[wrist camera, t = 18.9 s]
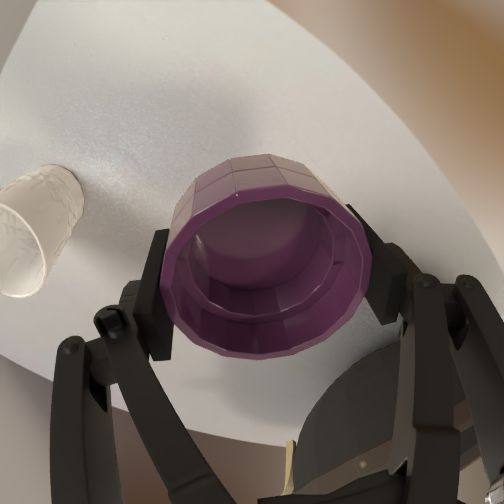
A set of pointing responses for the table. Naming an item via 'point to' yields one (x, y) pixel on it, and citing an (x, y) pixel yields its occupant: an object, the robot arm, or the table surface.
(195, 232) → the plum dish
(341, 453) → the bowl
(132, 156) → the table surface
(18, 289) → the white cup
